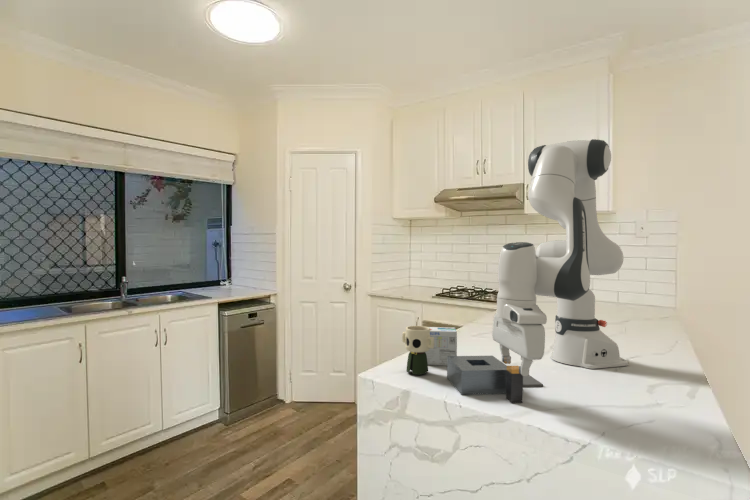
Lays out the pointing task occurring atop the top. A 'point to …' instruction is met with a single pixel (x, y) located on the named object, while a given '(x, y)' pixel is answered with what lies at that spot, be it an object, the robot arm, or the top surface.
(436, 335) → the light bulb box
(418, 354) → the character mug
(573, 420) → the top surface
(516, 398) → the block
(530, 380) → the mat
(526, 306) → the robot arm
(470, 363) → the block
